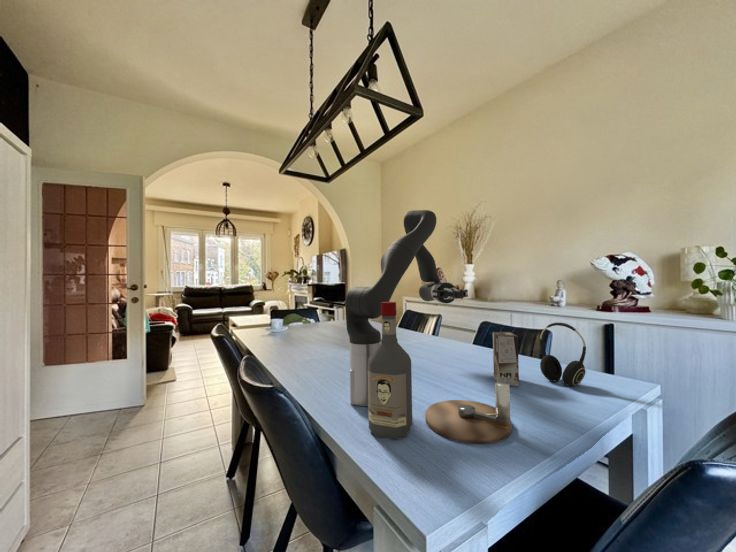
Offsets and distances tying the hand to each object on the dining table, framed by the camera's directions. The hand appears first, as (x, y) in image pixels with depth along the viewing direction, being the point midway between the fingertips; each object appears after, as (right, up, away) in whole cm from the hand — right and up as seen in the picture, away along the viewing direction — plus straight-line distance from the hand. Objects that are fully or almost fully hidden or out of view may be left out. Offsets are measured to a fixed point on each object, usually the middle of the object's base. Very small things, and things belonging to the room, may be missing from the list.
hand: (459, 294), depth 97 cm
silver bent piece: (-1, -28, -24) cm, 37 cm away
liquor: (-23, -30, -24) cm, 45 cm away
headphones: (+35, -30, +4) cm, 46 cm away
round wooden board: (-4, -30, -22) cm, 37 cm away
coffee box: (+18, -30, +8) cm, 36 cm away
